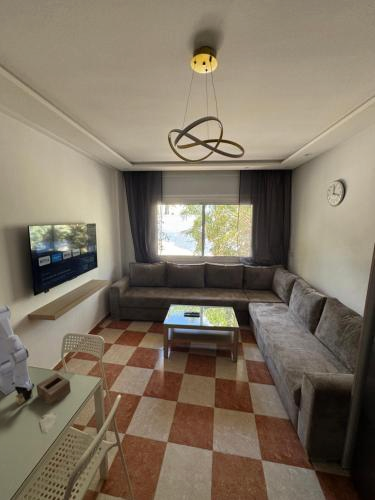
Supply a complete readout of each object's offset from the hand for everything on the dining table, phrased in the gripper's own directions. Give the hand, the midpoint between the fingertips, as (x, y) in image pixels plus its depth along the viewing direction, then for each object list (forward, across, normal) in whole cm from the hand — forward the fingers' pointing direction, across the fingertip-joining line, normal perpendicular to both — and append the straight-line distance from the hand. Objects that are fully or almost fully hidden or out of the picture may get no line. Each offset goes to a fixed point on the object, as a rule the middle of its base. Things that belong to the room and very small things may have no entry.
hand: (24, 396), depth 112 cm
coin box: (+2, +9, +10) cm, 13 cm away
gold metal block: (+2, 0, 0) cm, 2 cm away
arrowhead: (+2, +23, -2) cm, 23 cm away
